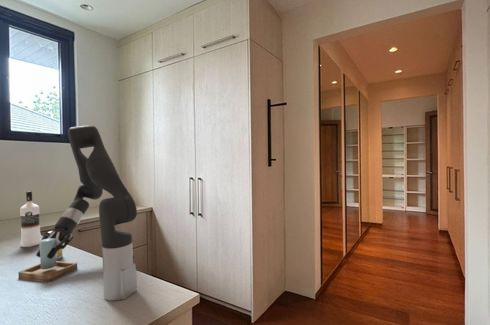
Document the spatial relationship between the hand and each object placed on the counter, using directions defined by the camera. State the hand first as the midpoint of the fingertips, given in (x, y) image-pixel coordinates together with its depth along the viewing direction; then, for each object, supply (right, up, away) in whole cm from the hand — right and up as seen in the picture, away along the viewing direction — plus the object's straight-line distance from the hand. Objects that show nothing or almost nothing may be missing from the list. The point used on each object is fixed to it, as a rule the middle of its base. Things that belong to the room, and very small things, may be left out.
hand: (43, 257), depth 104 cm
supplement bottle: (-9, -8, +18) cm, 22 cm away
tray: (+1, -7, +2) cm, 8 cm away
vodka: (-38, -8, +39) cm, 55 cm away
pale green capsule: (+1, -5, +2) cm, 5 cm away
